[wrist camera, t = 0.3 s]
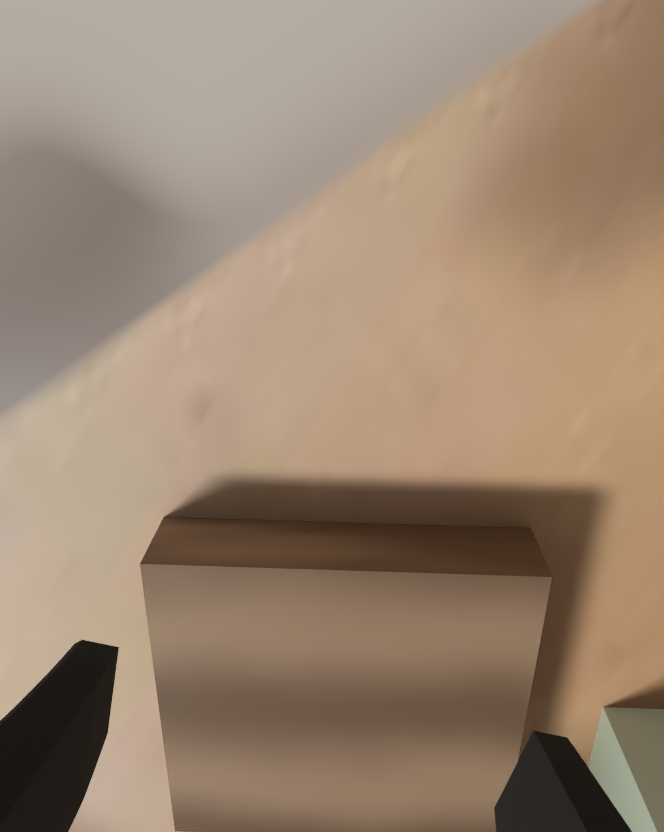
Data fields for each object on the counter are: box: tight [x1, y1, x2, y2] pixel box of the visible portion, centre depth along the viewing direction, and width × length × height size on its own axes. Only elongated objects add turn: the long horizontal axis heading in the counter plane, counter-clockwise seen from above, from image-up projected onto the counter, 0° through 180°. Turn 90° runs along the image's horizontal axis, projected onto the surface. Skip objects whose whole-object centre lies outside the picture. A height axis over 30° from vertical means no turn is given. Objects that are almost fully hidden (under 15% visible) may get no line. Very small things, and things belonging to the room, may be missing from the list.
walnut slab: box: [140, 517, 552, 832], centre depth 22 cm, size 12×12×3 cm
